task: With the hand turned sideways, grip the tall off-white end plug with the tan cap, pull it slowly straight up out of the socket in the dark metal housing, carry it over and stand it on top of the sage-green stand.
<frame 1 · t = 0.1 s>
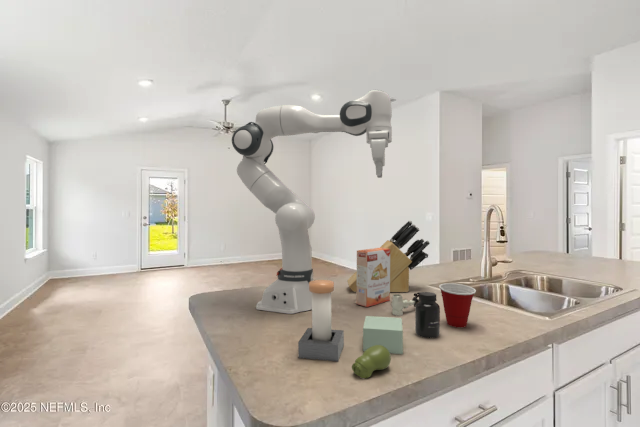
hand: (379, 176, 121), 48 cm above the worktop, tool pointing down, fingers open, 8 cm apart
end plug: (321, 316, 88), in the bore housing
knife block: (387, 290, 152), on the worktop
valve: (406, 313, 120), on the worktop
parts stand: (383, 344, 92), on the worktop
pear: (371, 372, 78), on the worktop
cracker box: (373, 303, 132), on the worktop
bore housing: (322, 351, 89), on the worktop
supplement bottle: (427, 335, 100), on the worktop
plastic cup: (457, 325, 107), on the worktop
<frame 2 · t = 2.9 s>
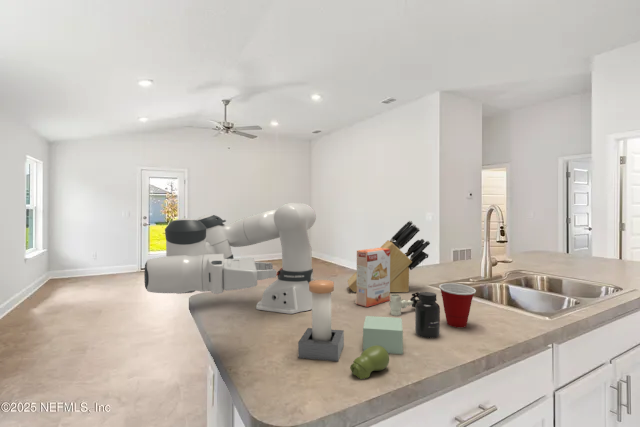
hand: (274, 269, 85), 22 cm above the worktop, tool horizontal, fingers open, 8 cm apart
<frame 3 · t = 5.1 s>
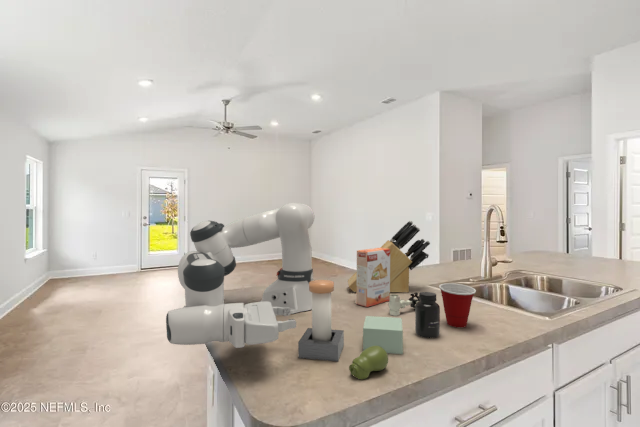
hand: (292, 317, 86), 10 cm above the worktop, tool horizontal, fingers open, 8 cm apart
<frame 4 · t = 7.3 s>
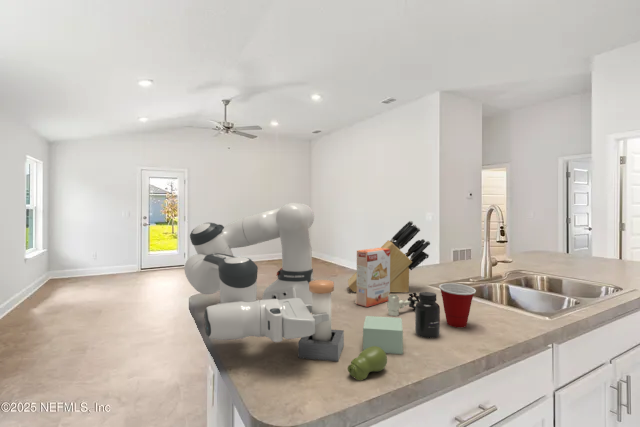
hand: (325, 312, 89), 10 cm above the worktop, tool horizontal, fingers closed on end plug, 5 cm apart
end plug: (321, 316, 88), in the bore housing, touching gripper
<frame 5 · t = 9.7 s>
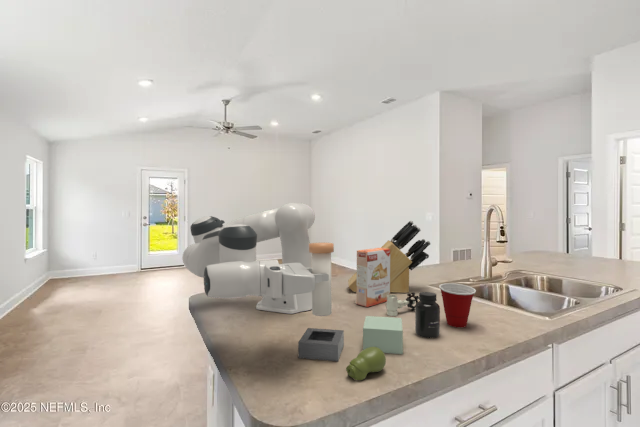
hand: (324, 274, 88), 20 cm above the worktop, tool horizontal, fingers closed on end plug, 5 cm apart
end plug: (321, 278, 88), point 19 cm above the worktop, touching gripper
when the fingers open (17 cm above the worktop, at t = 12.6 s): end plug drops 1 cm, resting on parts stand.
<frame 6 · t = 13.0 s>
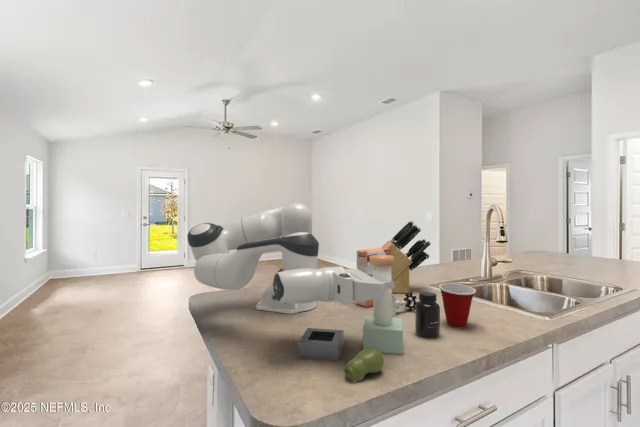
hand: (385, 280, 92), 17 cm above the worktop, tool horizontal, fingers open, 8 cm apart
end plug: (382, 289, 92), on the parts stand, point 15 cm above the worktop
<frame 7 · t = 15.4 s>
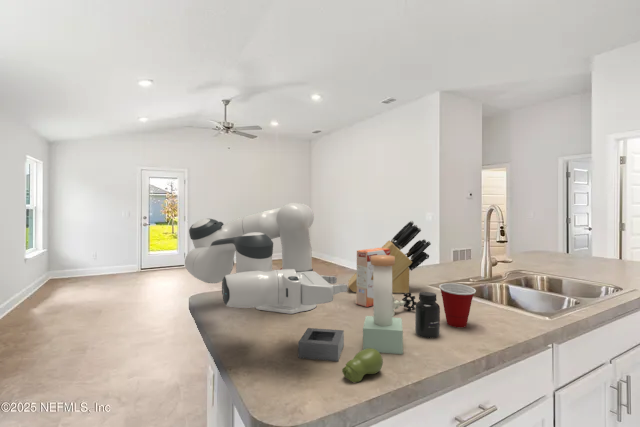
hand: (340, 283, 89), 17 cm above the worktop, tool horizontal, fingers open, 8 cm apart
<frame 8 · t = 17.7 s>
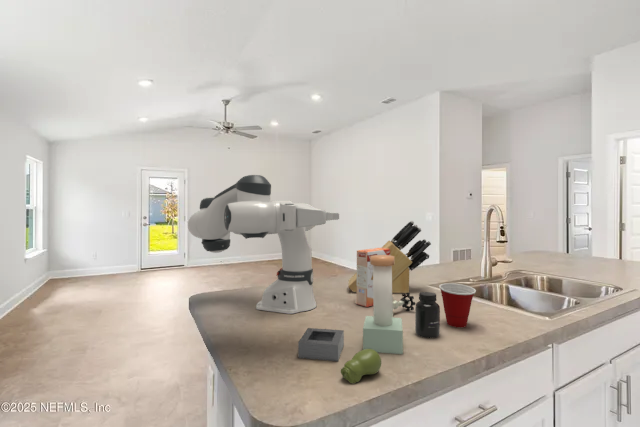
hand: (333, 215, 97), 35 cm above the worktop, tool horizontal, fingers open, 8 cm apart
at the end: end plug 0.0 cm off-centre on the parts stand, point 15.0 cm above the parts stand's base; end plug tilted 1°; the gripper is holding nothing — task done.
